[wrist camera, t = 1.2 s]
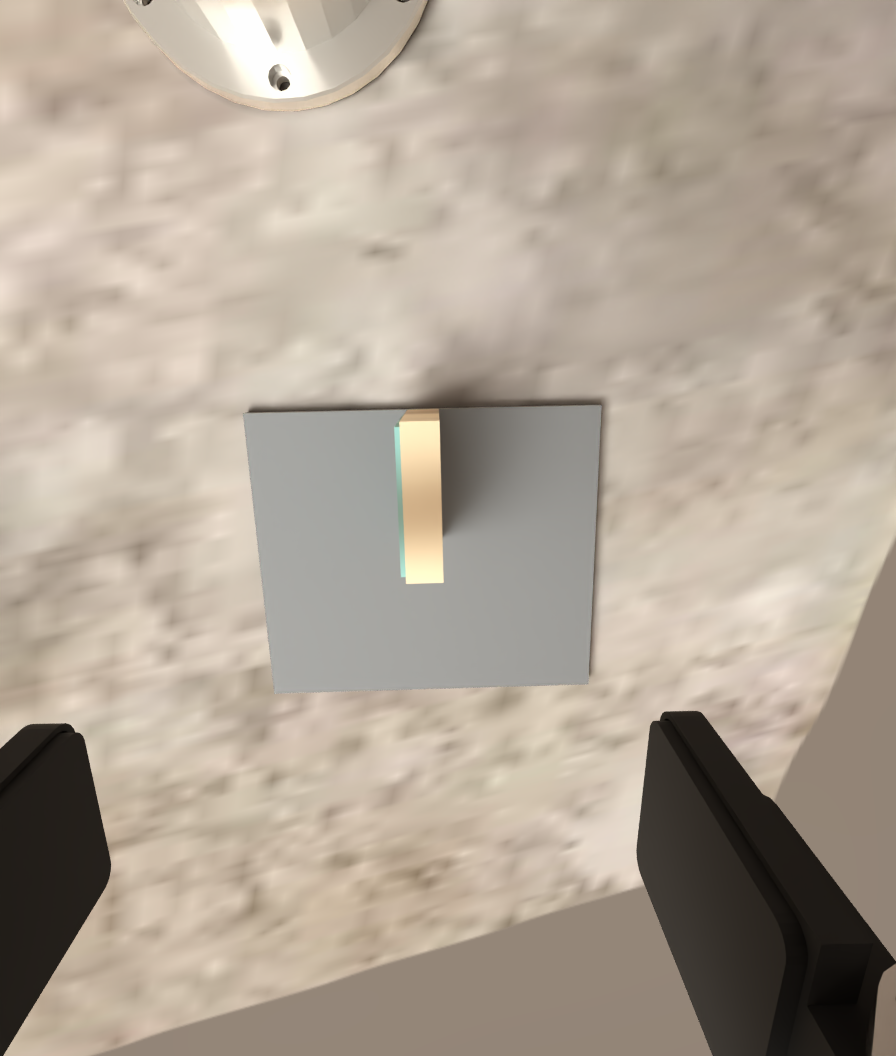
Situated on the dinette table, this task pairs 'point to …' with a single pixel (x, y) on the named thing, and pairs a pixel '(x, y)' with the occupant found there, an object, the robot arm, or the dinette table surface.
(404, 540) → the tile
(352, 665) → the mat
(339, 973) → the dinette table surface
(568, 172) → the dinette table surface
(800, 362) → the dinette table surface
